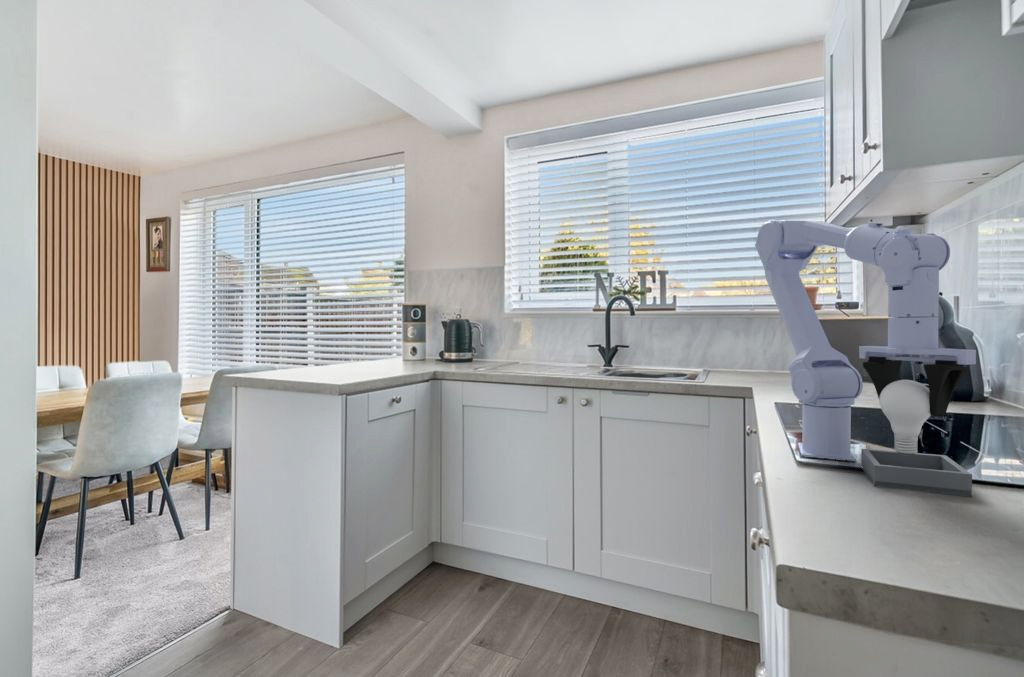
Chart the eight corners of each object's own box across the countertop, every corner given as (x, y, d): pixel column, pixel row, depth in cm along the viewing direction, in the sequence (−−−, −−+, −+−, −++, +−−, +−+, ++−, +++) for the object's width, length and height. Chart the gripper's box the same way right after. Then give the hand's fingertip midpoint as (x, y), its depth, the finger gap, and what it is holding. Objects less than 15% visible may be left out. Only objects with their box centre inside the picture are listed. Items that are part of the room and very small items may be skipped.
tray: (861, 467, 81) (861, 448, 81) (945, 475, 76) (946, 455, 76) (874, 486, 71) (874, 465, 71) (971, 496, 67) (972, 474, 67)
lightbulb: (943, 462, 70) (944, 383, 69) (889, 460, 71) (890, 383, 71) (921, 449, 76) (922, 376, 75) (871, 447, 78) (872, 376, 77)
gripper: (845, 318, 79) (844, 405, 79) (951, 316, 65) (950, 421, 65) (877, 318, 81) (876, 402, 81) (986, 316, 67) (985, 417, 68)
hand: (911, 410), depth 73 cm, fingers closed on lightbulb, 6 cm apart
